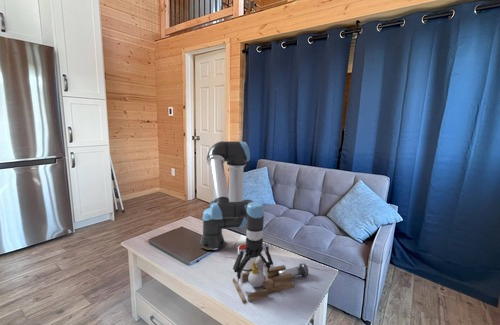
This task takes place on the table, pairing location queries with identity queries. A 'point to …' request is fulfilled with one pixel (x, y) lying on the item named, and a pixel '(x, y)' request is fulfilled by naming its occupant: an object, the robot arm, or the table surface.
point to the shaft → (295, 271)
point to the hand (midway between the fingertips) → (252, 281)
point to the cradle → (268, 284)
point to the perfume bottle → (256, 274)
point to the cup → (250, 262)
